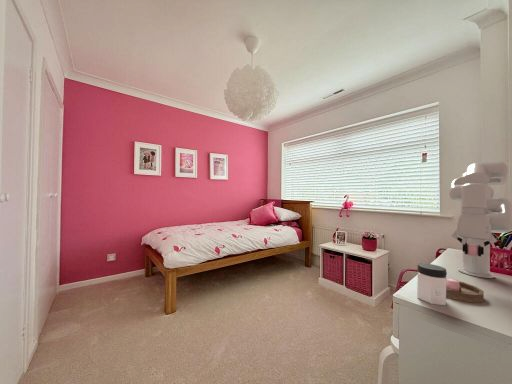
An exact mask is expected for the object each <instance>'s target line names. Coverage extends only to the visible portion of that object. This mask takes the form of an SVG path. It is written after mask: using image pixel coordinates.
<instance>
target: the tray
mask: <svg viewBox="0 0 512 384" xmlns="http://www.w3.org/2000/svg"><path fill="white" fill-rule="evenodd" d="M458 281H459V280H458ZM484 292H485V291H484V290H483V289H481V288H479V287H477V286H475V285H472V284H469V283H467V282H464V281H461V280H460V281H459V292H457V291H454V290H450V289H446V298H450V299H452V300H456V301H459V302H466V303H474V304H476V303H483V302H484V298H485V296H484V294H485V293H484Z"/></svg>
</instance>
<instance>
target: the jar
mask: <svg viewBox="0 0 512 384" xmlns="http://www.w3.org/2000/svg"><path fill="white" fill-rule="evenodd" d="M447 275H448V272H447V269H446V268H445V267H443V266H440V265H437V264H432V263H425V262H420V263H417V296H416V297H417V299H418V300H419V299H420V301H421V300H422V301H423V302H425V303H428V304H430V305H439V306H446V305H447V297H446V279H447Z"/></svg>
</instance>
